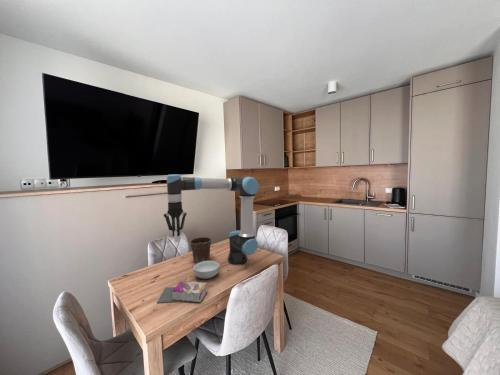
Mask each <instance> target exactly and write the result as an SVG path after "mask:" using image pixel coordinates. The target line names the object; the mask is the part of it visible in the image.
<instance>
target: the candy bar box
mask: <svg viewBox="0 0 500 375" xmlns="http://www.w3.org/2000/svg"><path fill="white" fill-rule="evenodd" d="M174 287H175V288H174V289H173V290H172V292H171V294H172V300H182V301H183V302H193V303H201V302H202V301H203V299H204V298H205V296H206V294H207V293H208V291H209V284H208V282H199V281H198V282H197V281H187V280H181V281H180V282H179V283H178V284H177V285H176V286H174Z"/></svg>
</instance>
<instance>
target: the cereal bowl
mask: <svg viewBox="0 0 500 375" xmlns="http://www.w3.org/2000/svg"><path fill="white" fill-rule="evenodd" d="M219 271H220V263H219V262H218V261H216V260H209V261H203V262H200V263H195V264H194V265H193V274H194V276H196V277H197V278H200V279H203V280H209V279H211V278H213V277H215V276H217V274H218V273H219Z"/></svg>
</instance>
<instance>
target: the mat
mask: <svg viewBox="0 0 500 375" xmlns="http://www.w3.org/2000/svg"><path fill="white" fill-rule="evenodd" d="M175 287H176V286H168V287H167V286H165V287H164V289H163V290H162V292H161V294H160V296H159V298H158V299H157V301H156V304H168V303H179V302H180V303H182V302H184V301H182V300H172V294H171V292H172V290H173V289H174V288H175Z"/></svg>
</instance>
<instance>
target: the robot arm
mask: <svg viewBox="0 0 500 375" xmlns="http://www.w3.org/2000/svg"><path fill="white" fill-rule="evenodd" d="M259 186H260V185H259V182H258V180H256V178H255V177H251V176H239V177H238V176H237V177H227V178H212V177H211V178H210V177H208V178H207V177H196V176H193V177H191V176H190V177H189V176H184V177H182V176H181V174H168V175H167V176H166V190H167V212H165V213H164V214H163V217H164V218H165V221H166V224H167V228H168V230H169V231H172V237H173V238H174V243H178V242H179V237H180V235H181V231H182V230H183V228H184V225H185V220H186V217H187V215H188V212H185V211H184V210H183V202H182V199H183V198H182V191H197V190H198V191H199V190H226V191H228V192H236V193H238V197H239V198H240V230H232V231H230V232H229V234H228V238H229V242H228V244H229V252H228V256H227V263H228V264H230V265H235V266H237V265H243V264H245V263H247V262H248V256H251V255H253V254H254V253H255V252H256V251H257V250H258V246H259V243H258V241H257V239H256V235H255V233H254V199H255V197H256V194H257V192H258V191H259ZM181 215H182V218H181ZM180 218H181V220H180ZM180 221H181V222H180Z"/></svg>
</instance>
